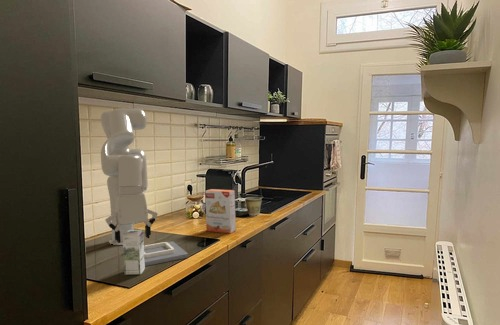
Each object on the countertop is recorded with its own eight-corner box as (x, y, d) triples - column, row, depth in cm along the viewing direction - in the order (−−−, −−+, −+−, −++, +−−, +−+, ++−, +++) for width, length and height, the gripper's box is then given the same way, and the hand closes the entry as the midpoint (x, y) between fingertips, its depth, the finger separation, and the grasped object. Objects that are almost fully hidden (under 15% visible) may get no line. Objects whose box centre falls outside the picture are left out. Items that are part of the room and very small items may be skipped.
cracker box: (206, 231, 172) (204, 190, 170) (212, 228, 177) (210, 188, 176) (230, 234, 166) (229, 191, 164) (236, 231, 171) (235, 189, 170)
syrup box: (145, 268, 123) (143, 229, 122) (140, 275, 117) (138, 233, 116) (129, 269, 123) (127, 229, 122) (123, 275, 117) (121, 234, 116)
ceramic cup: (259, 216, 202) (259, 199, 201) (243, 215, 205) (243, 199, 204) (264, 211, 214) (264, 196, 214) (249, 211, 217) (249, 195, 217)
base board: (125, 253, 141) (125, 245, 141) (173, 244, 151) (172, 237, 151) (135, 268, 124) (135, 259, 124) (188, 257, 134) (188, 249, 134)
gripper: (153, 187, 125) (155, 233, 126) (102, 192, 117) (105, 241, 118) (158, 189, 119) (161, 238, 120) (105, 194, 110) (108, 246, 111)
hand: (133, 239), depth 119 cm, fingers open, 9 cm apart
